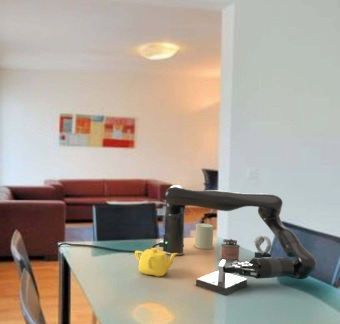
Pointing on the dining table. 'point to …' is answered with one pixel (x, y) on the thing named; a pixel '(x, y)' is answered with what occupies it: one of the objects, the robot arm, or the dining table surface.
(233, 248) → the lighter
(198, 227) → the can
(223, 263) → the knob
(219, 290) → the hob panel
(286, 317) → the dining table surface
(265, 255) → the watch
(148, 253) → the teapot
